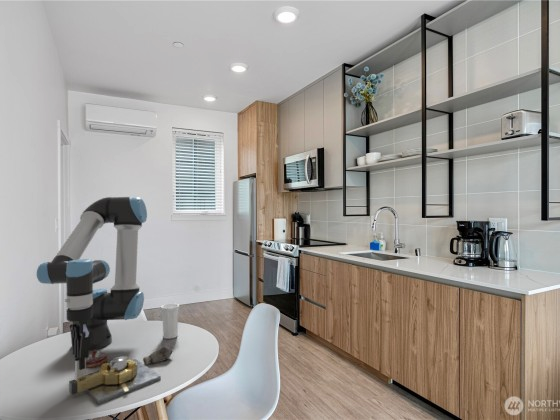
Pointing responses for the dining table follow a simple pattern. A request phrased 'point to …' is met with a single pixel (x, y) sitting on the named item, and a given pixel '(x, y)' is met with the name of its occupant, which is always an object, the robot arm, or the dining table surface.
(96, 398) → the base plate
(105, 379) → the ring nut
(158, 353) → the stone
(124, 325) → the dining table surface
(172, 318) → the cup
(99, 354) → the pastry
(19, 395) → the dining table surface
